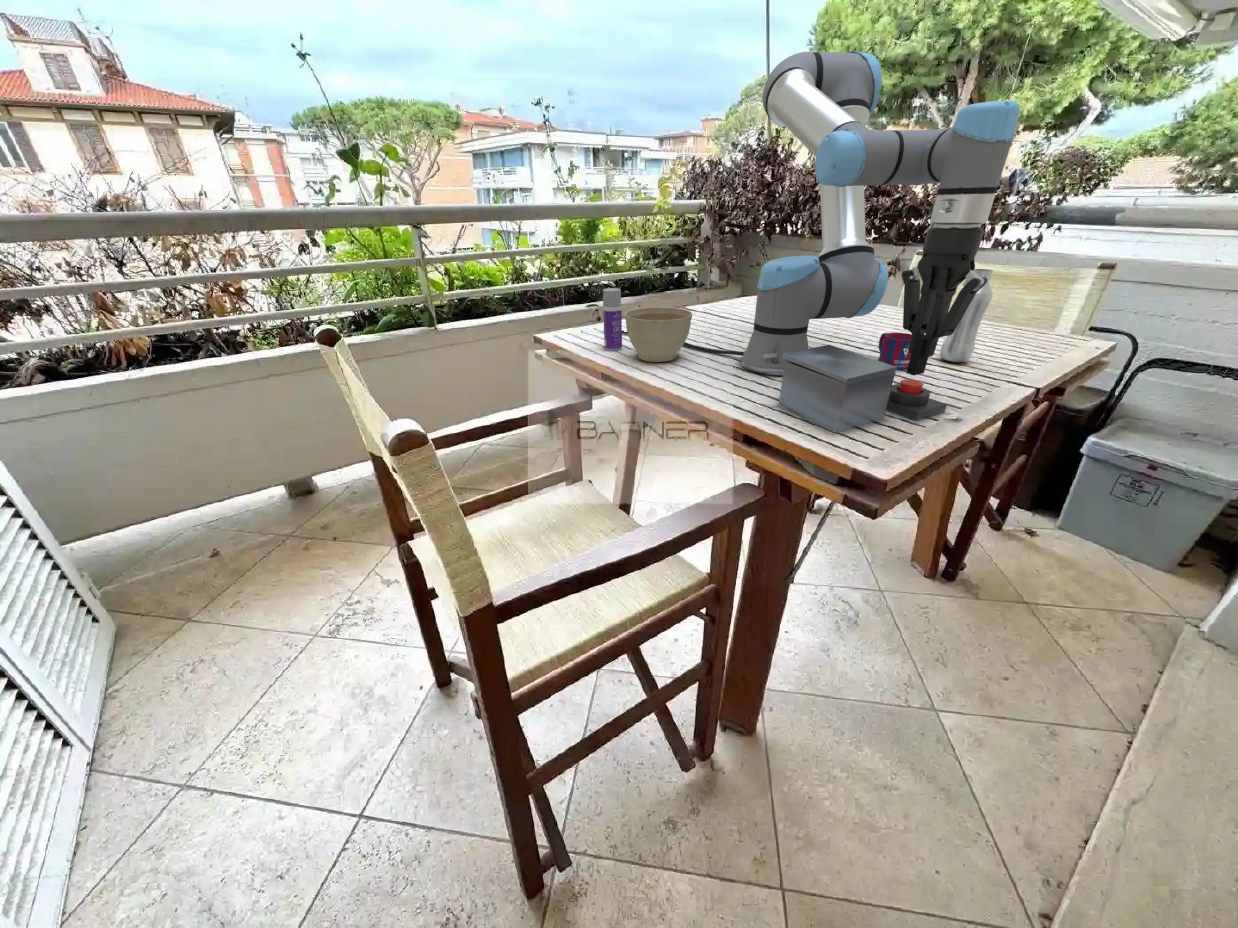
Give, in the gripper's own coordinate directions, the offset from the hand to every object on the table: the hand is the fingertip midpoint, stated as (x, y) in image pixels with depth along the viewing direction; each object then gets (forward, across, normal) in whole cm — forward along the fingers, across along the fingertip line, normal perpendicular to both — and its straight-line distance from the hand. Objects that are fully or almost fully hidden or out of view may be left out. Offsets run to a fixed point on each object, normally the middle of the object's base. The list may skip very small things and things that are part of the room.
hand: (914, 373), depth 86 cm
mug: (+7, -19, +21) cm, 29 cm away
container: (+7, -64, -29) cm, 71 cm away
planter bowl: (+7, -51, -23) cm, 56 cm away
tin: (+7, -5, -14) cm, 16 cm away
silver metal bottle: (+7, -13, +35) cm, 38 cm away
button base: (+7, 0, 0) cm, 7 cm away
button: (+4, 0, 0) cm, 4 cm away
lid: (-2, -5, -14) cm, 15 cm away
